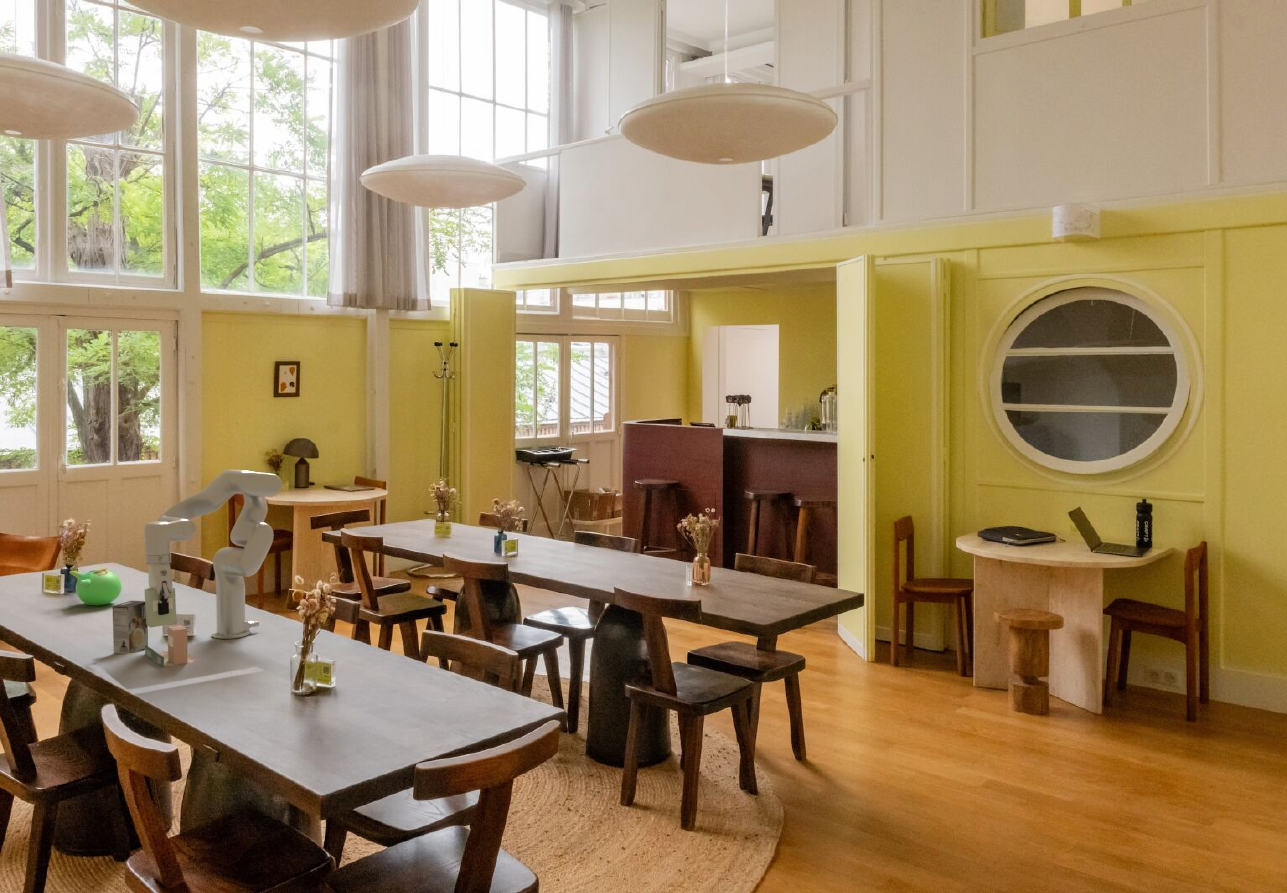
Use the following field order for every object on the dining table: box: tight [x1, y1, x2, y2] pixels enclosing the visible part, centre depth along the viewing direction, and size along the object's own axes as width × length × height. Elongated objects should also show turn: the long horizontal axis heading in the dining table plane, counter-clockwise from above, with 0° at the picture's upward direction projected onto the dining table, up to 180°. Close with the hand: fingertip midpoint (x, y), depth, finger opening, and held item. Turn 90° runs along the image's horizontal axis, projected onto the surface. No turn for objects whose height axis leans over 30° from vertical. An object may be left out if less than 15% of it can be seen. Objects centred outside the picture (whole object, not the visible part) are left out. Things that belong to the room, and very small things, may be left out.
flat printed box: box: [144, 645, 200, 668], centre depth 318 cm, size 11×18×4 cm, turn 42°
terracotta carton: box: [167, 624, 189, 666], centre depth 313 cm, size 4×6×11 cm
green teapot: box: [69, 567, 122, 606], centre depth 395 cm, size 18×17×15 cm
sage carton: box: [144, 586, 177, 629], centre depth 327 cm, size 8×5×12 cm, turn 132°
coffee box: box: [112, 600, 149, 655], centre depth 330 cm, size 9×6×16 cm
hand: (160, 612), depth 327 cm, fingers closed on sage carton, 5 cm apart
